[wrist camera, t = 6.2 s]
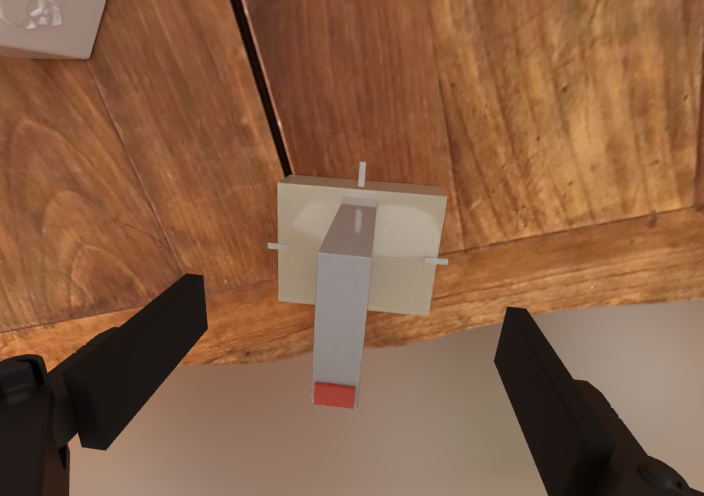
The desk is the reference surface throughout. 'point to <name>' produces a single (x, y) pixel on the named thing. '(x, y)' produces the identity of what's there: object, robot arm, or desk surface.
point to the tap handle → (342, 303)
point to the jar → (49, 28)
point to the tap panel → (389, 240)
